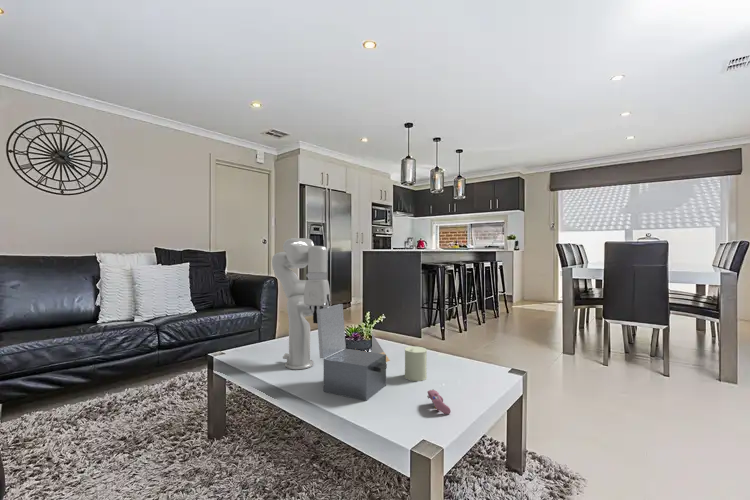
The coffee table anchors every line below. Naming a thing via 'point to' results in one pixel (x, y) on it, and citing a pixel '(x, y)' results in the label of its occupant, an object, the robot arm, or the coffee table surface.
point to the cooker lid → (331, 330)
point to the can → (415, 363)
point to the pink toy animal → (438, 402)
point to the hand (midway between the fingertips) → (317, 322)
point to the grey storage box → (355, 373)
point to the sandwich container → (377, 347)
